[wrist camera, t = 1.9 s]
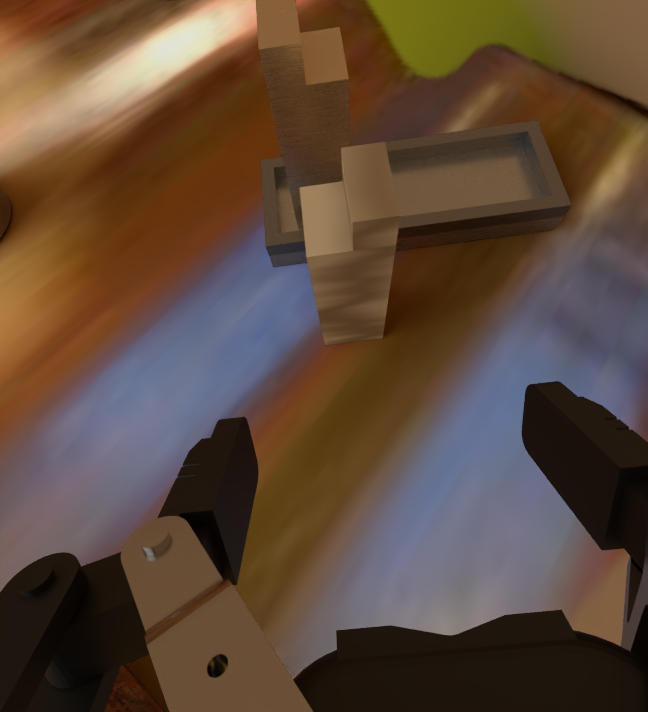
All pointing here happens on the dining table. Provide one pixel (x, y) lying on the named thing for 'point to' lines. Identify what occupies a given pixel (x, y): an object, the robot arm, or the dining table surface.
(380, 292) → the maple finger
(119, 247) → the dining table surface
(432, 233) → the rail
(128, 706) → the tin
